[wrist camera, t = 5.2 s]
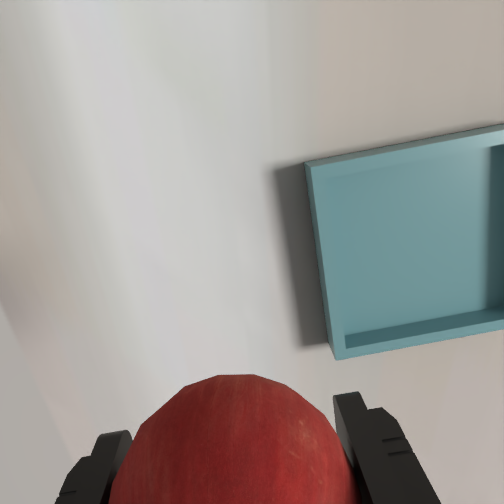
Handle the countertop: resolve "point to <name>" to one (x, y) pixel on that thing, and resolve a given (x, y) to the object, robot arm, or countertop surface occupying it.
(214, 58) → the countertop surface
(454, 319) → the tray
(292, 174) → the countertop surface
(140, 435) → the onion
